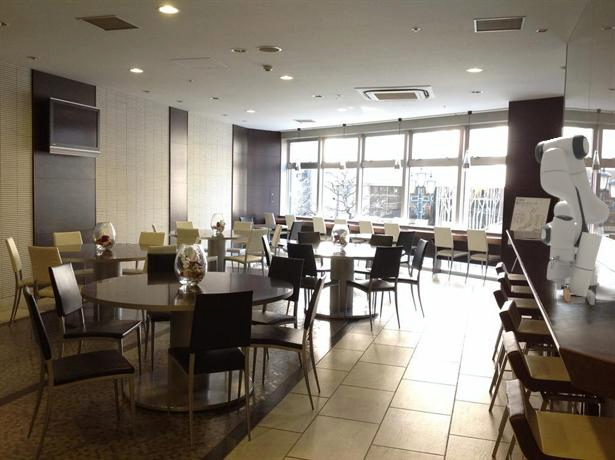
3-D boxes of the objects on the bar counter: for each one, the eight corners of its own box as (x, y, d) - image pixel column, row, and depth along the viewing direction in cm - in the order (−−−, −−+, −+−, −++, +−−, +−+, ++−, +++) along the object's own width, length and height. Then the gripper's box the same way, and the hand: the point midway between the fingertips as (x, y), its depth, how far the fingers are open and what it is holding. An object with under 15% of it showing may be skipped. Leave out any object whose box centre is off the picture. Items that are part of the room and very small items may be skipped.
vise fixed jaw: (586, 298, 211) (587, 289, 211) (590, 298, 211) (591, 290, 210) (590, 304, 198) (590, 295, 198) (594, 305, 198) (595, 295, 198)
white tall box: (582, 293, 221) (597, 234, 217) (589, 297, 214) (605, 236, 210) (564, 290, 221) (579, 231, 218) (570, 294, 214) (586, 233, 211)
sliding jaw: (562, 293, 221) (563, 285, 221) (566, 293, 220) (567, 285, 220) (565, 301, 201) (566, 293, 201) (569, 301, 201) (570, 293, 201)
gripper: (560, 258, 208) (557, 293, 208) (579, 255, 222) (577, 288, 223) (543, 256, 212) (541, 291, 213) (563, 253, 226) (561, 286, 227)
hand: (559, 289), depth 218 cm, fingers closed
